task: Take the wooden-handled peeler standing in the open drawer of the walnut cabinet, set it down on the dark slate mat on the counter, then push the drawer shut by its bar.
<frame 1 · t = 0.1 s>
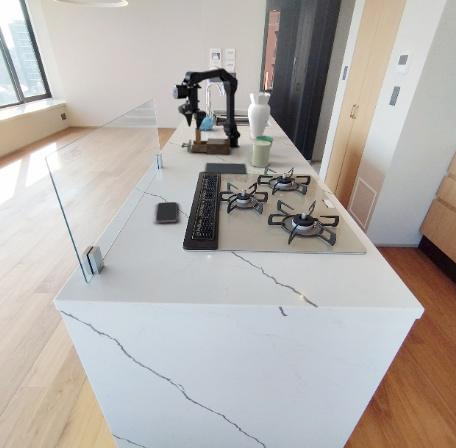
hand: (193, 128, 160), 15 cm above the countertop, tool pointing down, fingers open, 9 cm apart
teapot: (205, 129, 220), on the countertop
drawer: (195, 145, 171), point 3 cm above the countertop, slide at 10.0 cm, touching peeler
can: (259, 164, 154), on the countertop
cabinet: (218, 151, 172), on the countertop
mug: (262, 154, 170), on the countertop
mat: (225, 168, 147), on the countertop
vase: (256, 138, 200), on the countertop
smartphone: (167, 213, 105), on the countertop
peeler: (198, 147, 171), point 2 cm above the countertop, touching drawer
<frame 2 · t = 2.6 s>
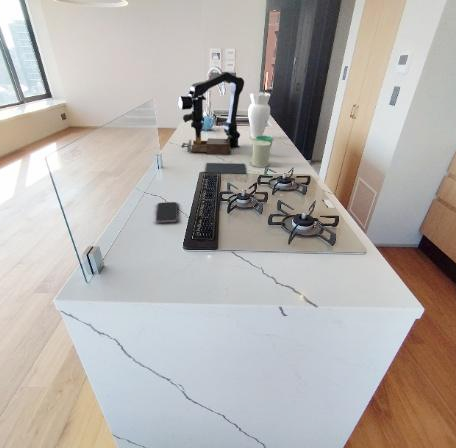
hand: (198, 136, 168), 9 cm above the countertop, tool pointing down, fingers closed on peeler, 3 cm apart
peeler: (198, 147, 171), point 2 cm above the countertop, touching drawer, gripper
everything else where it was.
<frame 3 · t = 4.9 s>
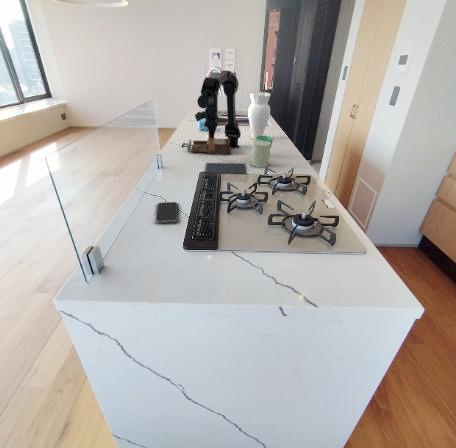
hand: (211, 137, 149), 13 cm above the countertop, tool pointing down, fingers closed on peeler, 3 cm apart
drawer: (195, 145, 171), point 3 cm above the countertop, slide at 10.0 cm
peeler: (211, 149, 153), point 7 cm above the countertop, touching gripper
everything else where it was.
when the fingers open (7 cm above the countertop, at t = 7.4 s): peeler stays where it is, resting on mat.
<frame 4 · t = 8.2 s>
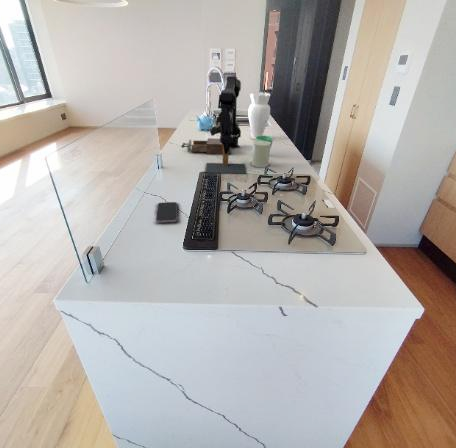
hand: (225, 151, 148), 7 cm above the countertop, tool pointing down, fingers open, 9 cm apart
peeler: (225, 164, 151), resting on mat
everything else where it was.
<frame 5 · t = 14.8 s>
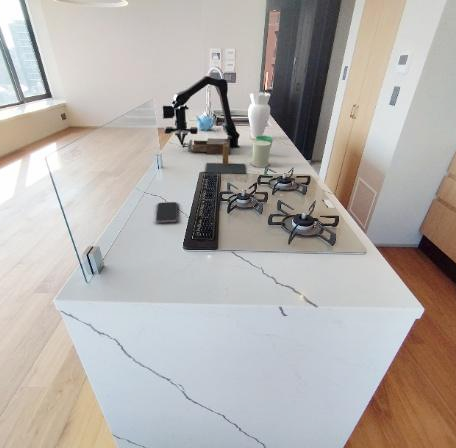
hand: (182, 145, 171), 3 cm above the countertop, tool pointing down, fingers closed
drawer: (196, 145, 171), point 3 cm above the countertop, slide at 9.5 cm, touching gripper
everything else where it was.
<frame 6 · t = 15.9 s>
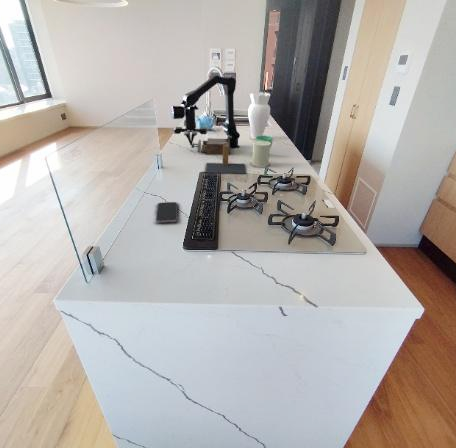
hand: (191, 145, 171), 3 cm above the countertop, tool pointing down, fingers closed
drawer: (205, 146, 171), point 3 cm above the countertop, slide at 4.1 cm, touching gripper
everything else where it was.
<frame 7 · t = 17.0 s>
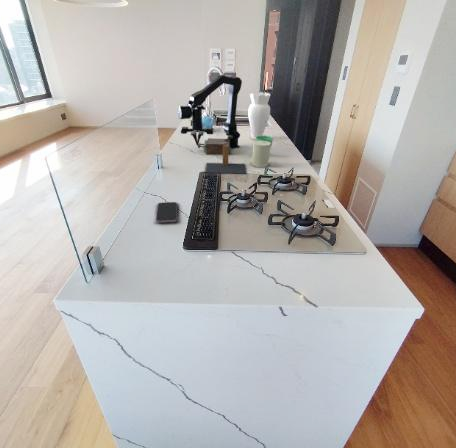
hand: (197, 145, 171), 4 cm above the countertop, tool pointing down, fingers closed
drawer: (211, 146, 171), point 3 cm above the countertop, slide at 0.3 cm, touching gripper
everything else where it was.
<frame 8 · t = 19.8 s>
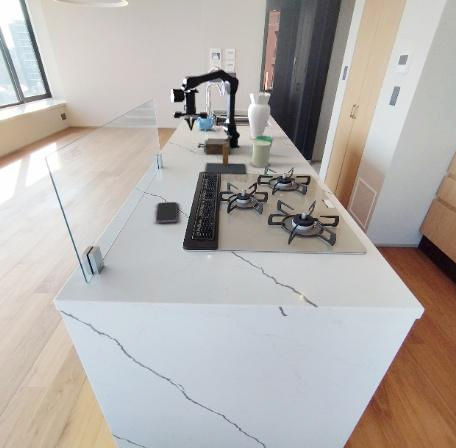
hand: (191, 130, 166), 12 cm above the countertop, tool pointing down, fingers closed
drawer: (211, 146, 171), point 3 cm above the countertop, slide at 0.3 cm
everything else where it was.
at the end: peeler inside the target area on the mat (5.5 cm from its centre), point 0.4 cm above the mat's base; drawer slide at 0.3 cm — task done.
